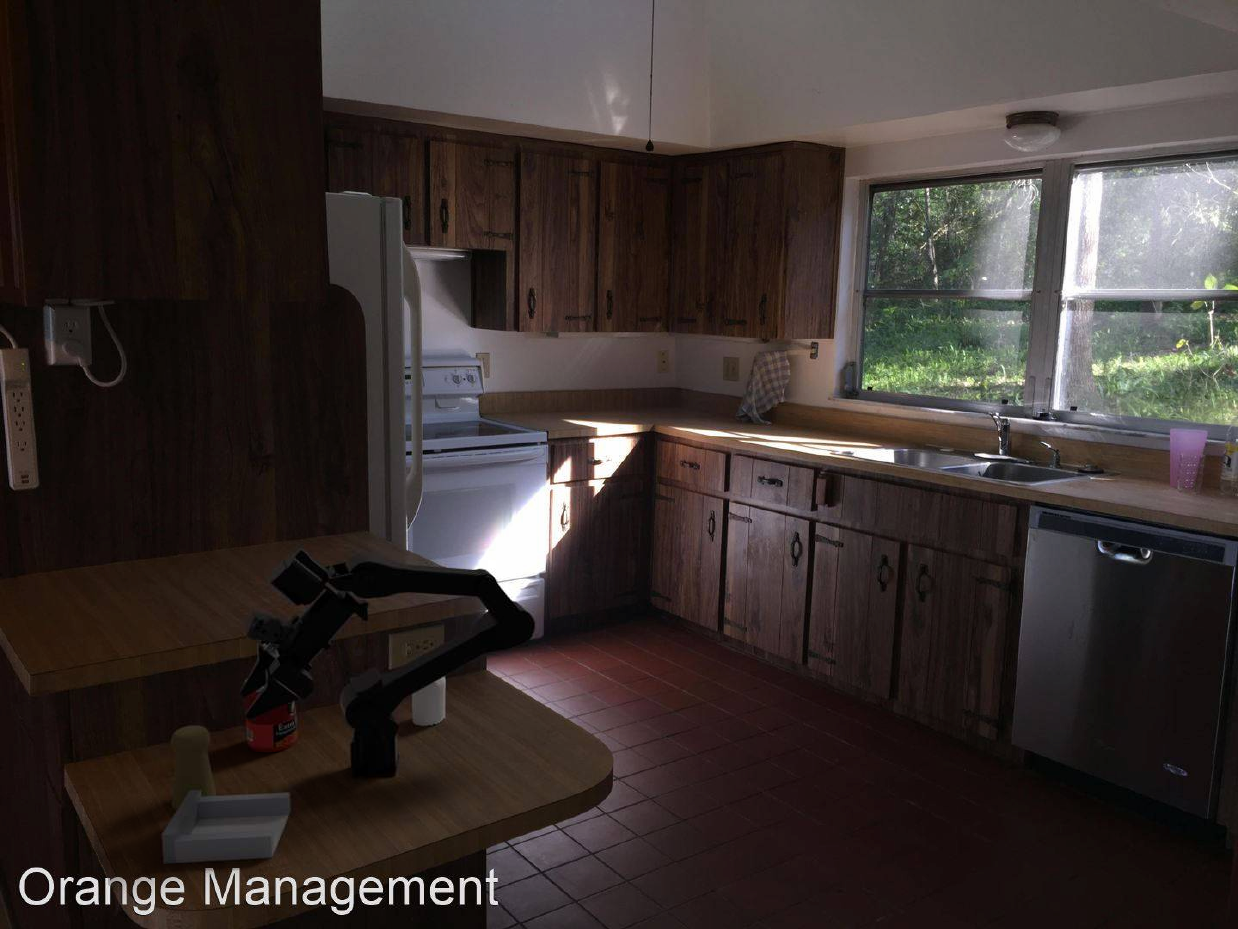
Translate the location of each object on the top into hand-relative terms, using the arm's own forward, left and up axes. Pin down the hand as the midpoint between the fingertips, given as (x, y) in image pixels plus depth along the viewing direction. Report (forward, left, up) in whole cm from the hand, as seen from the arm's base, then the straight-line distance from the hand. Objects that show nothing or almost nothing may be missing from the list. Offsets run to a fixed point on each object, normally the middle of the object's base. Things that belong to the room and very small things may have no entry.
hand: (244, 706), depth 148 cm
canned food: (0, -17, -13) cm, 21 cm away
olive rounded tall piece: (+7, +2, -13) cm, 15 cm away
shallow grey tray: (-1, +13, -13) cm, 19 cm away
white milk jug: (-25, -24, -13) cm, 37 cm away
